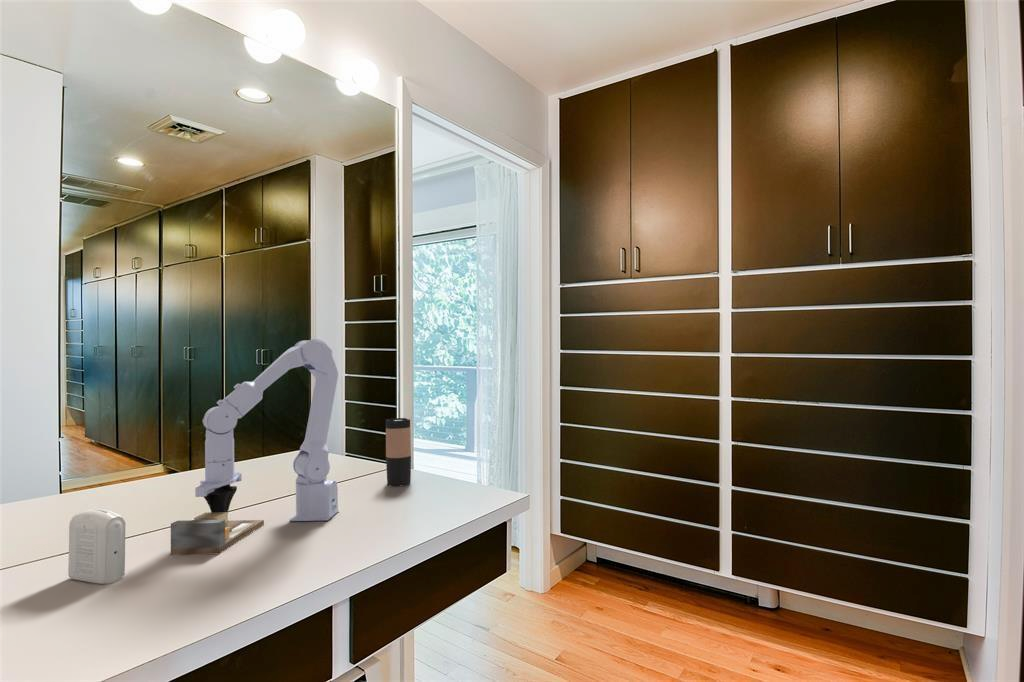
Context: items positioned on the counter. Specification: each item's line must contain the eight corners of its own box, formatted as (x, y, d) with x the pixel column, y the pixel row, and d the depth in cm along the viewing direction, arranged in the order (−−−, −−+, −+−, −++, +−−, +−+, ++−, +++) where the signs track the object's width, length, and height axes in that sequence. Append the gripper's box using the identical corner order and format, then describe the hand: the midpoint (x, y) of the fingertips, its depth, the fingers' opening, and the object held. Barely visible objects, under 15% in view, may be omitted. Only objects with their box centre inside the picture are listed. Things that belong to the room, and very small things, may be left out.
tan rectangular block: (239, 530, 114) (239, 511, 114) (229, 536, 110) (229, 517, 110) (205, 530, 114) (205, 512, 114) (194, 536, 110) (194, 518, 110)
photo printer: (129, 576, 94) (129, 508, 94) (104, 586, 90) (105, 515, 90) (89, 570, 97) (90, 504, 97) (63, 580, 93) (64, 511, 93)
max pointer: (229, 537, 109) (229, 527, 109) (225, 539, 107) (225, 529, 107) (217, 537, 109) (217, 527, 109) (213, 539, 107) (213, 530, 107)
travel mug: (382, 486, 157) (381, 420, 158) (392, 480, 165) (391, 418, 166) (406, 486, 156) (405, 420, 157) (414, 480, 164) (414, 417, 164)
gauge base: (263, 525, 122) (263, 498, 122) (219, 553, 104) (219, 522, 104) (222, 525, 122) (222, 499, 122) (170, 554, 104) (170, 523, 104)
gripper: (220, 454, 123) (221, 511, 123) (181, 467, 109) (181, 532, 108) (250, 453, 123) (250, 511, 123) (214, 466, 109) (214, 531, 108)
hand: (219, 521), depth 115 cm, fingers closed
